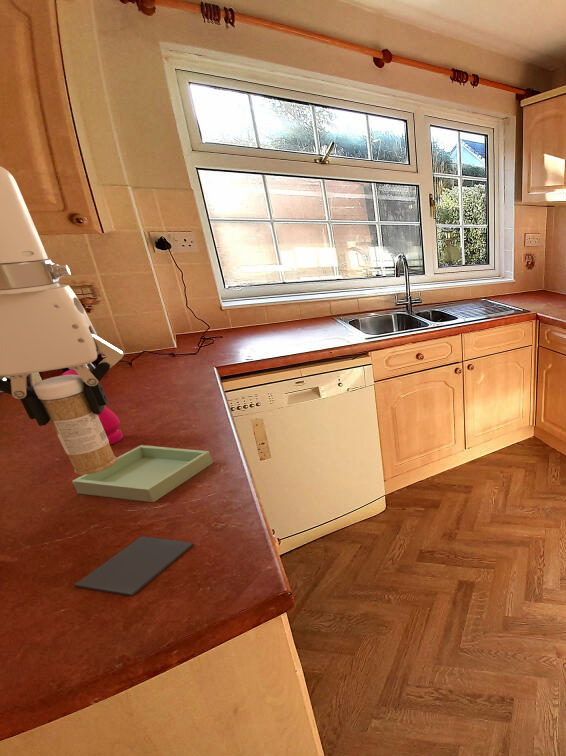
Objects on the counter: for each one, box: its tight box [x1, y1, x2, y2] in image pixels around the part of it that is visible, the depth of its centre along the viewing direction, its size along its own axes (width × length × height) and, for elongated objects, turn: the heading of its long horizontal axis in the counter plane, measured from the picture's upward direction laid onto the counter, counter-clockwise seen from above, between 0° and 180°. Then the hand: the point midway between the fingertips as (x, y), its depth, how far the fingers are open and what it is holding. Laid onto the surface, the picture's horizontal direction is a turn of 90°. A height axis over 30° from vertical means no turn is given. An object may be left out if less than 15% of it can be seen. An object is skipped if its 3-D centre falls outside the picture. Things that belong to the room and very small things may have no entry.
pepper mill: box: [60, 367, 124, 446], centre depth 97 cm, size 7×7×20 cm
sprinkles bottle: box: [33, 375, 117, 476], centre depth 57 cm, size 5×5×14 cm
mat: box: [74, 535, 195, 597], centre depth 65 cm, size 10×10×1 cm
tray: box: [71, 444, 214, 503], centre depth 86 cm, size 18×14×3 cm
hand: (73, 414), depth 57 cm, fingers closed on sprinkles bottle, 4 cm apart
